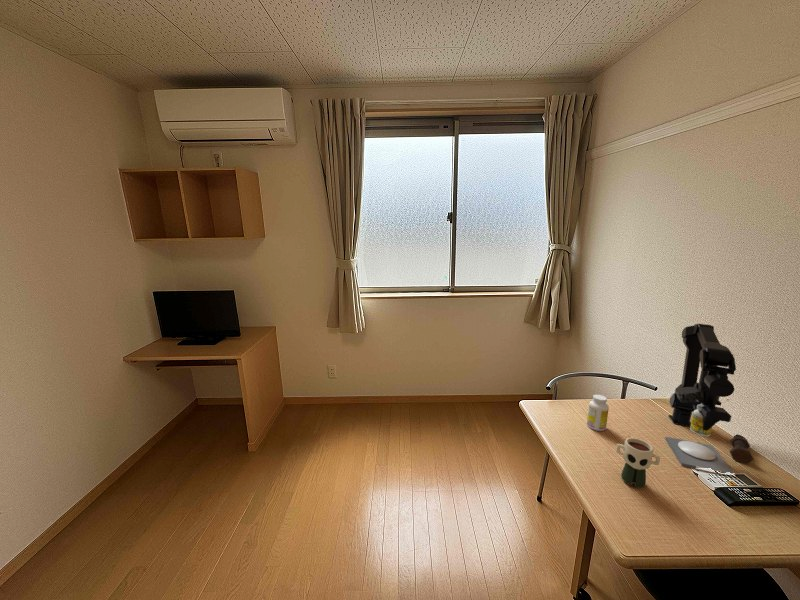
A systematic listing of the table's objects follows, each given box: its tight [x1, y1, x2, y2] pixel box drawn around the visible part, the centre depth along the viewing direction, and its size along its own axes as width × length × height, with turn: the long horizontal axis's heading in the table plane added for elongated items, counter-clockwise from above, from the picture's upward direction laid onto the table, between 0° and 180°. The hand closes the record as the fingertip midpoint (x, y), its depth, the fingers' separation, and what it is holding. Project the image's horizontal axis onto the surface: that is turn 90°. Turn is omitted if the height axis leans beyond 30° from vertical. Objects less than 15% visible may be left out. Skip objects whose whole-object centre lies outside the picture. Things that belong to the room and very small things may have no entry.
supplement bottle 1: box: [586, 394, 610, 432], centre depth 134 cm, size 7×7×13 cm
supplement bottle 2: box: [689, 404, 713, 437], centre depth 116 cm, size 5×5×10 cm
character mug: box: [615, 437, 661, 488], centre depth 104 cm, size 11×7×13 cm, turn 57°
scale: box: [664, 436, 735, 473], centre depth 117 cm, size 17×14×2 cm
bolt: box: [729, 434, 755, 465], centre depth 120 cm, size 6×5×15 cm
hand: (701, 425), depth 117 cm, fingers closed on supplement bottle 2, 5 cm apart
